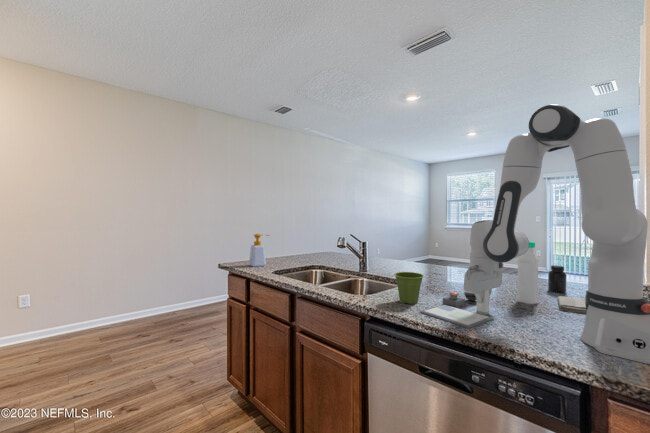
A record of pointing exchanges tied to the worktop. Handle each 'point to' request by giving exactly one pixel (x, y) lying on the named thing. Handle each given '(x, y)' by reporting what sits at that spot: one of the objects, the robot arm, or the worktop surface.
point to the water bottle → (528, 276)
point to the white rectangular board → (457, 316)
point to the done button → (453, 295)
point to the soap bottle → (257, 253)
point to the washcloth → (572, 304)
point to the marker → (484, 303)
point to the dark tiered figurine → (470, 298)
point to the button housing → (454, 302)
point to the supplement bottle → (557, 279)
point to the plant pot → (409, 286)
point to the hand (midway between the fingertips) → (483, 302)
